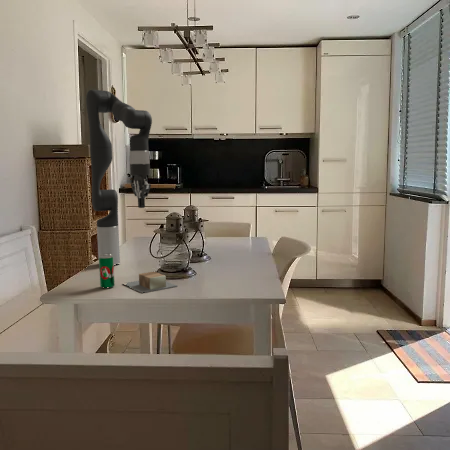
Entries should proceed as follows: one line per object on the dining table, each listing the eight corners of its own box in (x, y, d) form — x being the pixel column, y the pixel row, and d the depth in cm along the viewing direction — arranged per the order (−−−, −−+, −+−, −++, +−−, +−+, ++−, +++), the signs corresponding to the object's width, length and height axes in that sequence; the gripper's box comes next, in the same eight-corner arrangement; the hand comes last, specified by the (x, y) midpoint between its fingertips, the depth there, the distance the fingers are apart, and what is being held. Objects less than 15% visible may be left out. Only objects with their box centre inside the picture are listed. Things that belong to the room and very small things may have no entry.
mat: (122, 284, 176) (122, 283, 176) (156, 278, 184) (156, 277, 184) (141, 293, 163) (141, 292, 163) (177, 286, 172) (177, 285, 172)
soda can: (108, 284, 176) (107, 252, 175) (117, 286, 173) (116, 254, 172) (97, 287, 172) (95, 254, 171) (106, 289, 169) (104, 256, 168)
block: (138, 273, 173) (150, 278, 166) (153, 271, 177) (165, 275, 170) (139, 284, 174) (150, 289, 167) (154, 282, 177) (166, 286, 170)
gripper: (123, 163, 188) (125, 207, 190) (138, 162, 177) (140, 209, 179) (140, 163, 192) (142, 206, 194) (156, 162, 182) (158, 208, 184)
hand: (141, 207), depth 187 cm, fingers closed
